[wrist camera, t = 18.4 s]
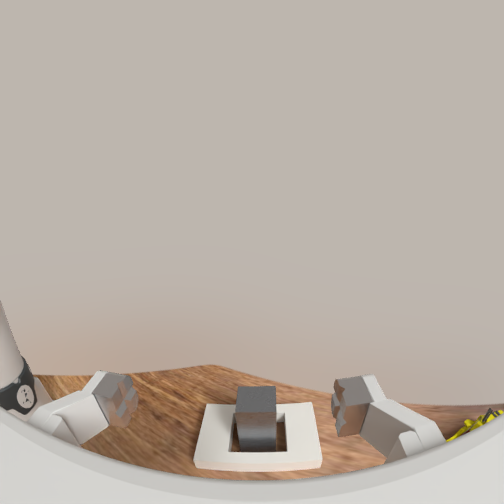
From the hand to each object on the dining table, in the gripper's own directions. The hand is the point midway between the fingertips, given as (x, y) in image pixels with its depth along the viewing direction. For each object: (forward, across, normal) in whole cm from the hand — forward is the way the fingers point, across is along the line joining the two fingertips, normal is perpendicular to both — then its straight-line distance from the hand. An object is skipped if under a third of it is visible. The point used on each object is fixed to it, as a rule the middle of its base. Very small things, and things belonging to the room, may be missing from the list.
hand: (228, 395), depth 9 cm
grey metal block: (+18, 0, -28) cm, 33 cm away
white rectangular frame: (+18, 0, -28) cm, 33 cm away
